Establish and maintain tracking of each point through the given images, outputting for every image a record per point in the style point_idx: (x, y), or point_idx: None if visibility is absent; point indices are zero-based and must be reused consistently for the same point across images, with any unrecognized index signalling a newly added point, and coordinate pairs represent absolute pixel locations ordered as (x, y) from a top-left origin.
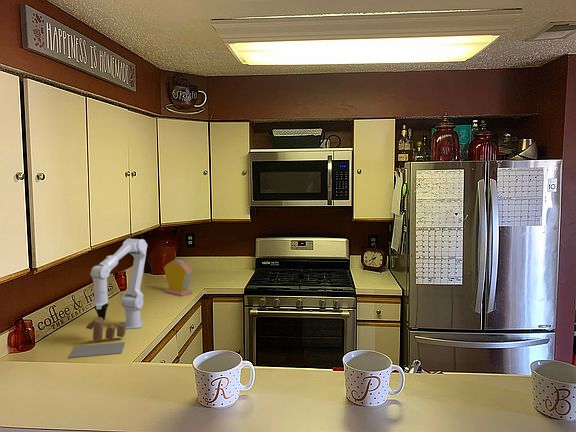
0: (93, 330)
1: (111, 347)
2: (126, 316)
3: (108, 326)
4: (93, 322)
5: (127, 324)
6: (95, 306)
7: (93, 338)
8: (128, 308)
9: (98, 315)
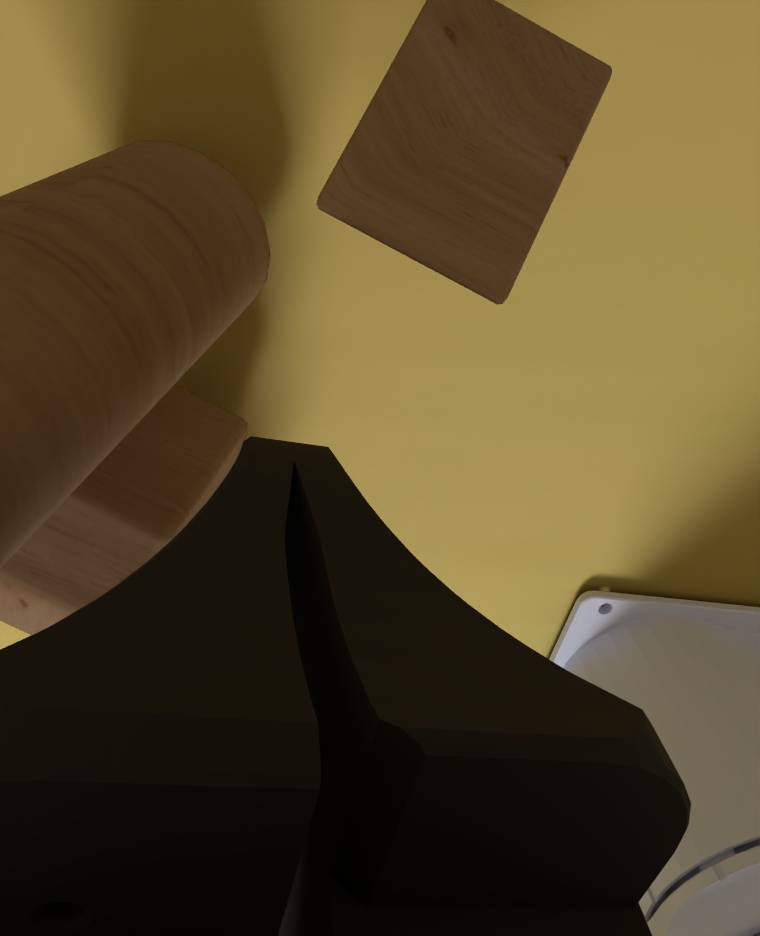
0: (1, 198)
1: None
2: (694, 747)
3: (138, 541)
4: (406, 242)
5: (621, 656)
6: (118, 826)
7: (103, 154)
8: (755, 903)
9: (195, 523)
